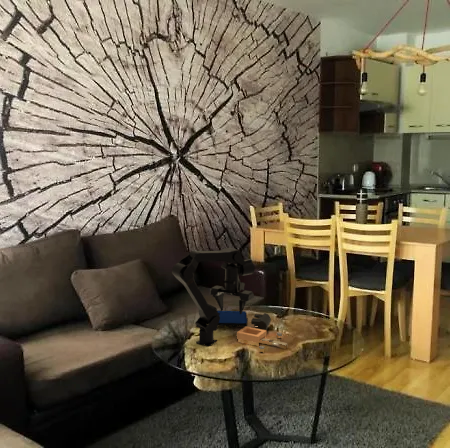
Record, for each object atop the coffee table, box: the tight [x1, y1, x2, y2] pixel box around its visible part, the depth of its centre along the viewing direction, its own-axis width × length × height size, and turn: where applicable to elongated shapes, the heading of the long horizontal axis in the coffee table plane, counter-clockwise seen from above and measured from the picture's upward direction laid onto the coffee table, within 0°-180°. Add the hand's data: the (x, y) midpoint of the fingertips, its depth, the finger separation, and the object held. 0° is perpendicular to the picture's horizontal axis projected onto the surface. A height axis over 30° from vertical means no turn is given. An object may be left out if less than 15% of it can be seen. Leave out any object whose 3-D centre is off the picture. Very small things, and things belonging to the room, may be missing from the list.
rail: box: [236, 331, 288, 349], centre depth 236 cm, size 18×23×2 cm
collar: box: [236, 325, 268, 342], centre depth 238 cm, size 8×10×4 cm
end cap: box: [250, 312, 272, 331], centre depth 250 cm, size 10×7×7 cm
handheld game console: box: [217, 310, 249, 327], centre depth 257 cm, size 16×13×9 cm
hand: (231, 312), depth 243 cm, fingers open, 9 cm apart
